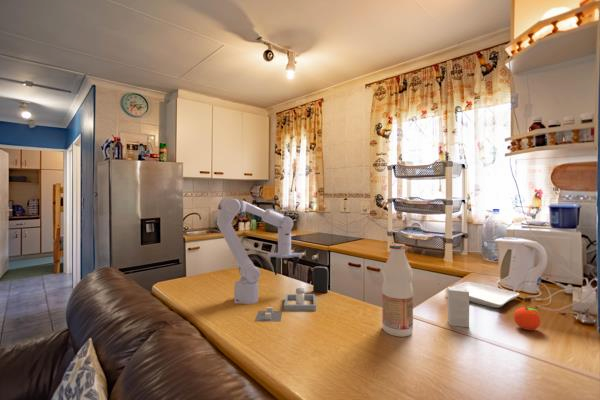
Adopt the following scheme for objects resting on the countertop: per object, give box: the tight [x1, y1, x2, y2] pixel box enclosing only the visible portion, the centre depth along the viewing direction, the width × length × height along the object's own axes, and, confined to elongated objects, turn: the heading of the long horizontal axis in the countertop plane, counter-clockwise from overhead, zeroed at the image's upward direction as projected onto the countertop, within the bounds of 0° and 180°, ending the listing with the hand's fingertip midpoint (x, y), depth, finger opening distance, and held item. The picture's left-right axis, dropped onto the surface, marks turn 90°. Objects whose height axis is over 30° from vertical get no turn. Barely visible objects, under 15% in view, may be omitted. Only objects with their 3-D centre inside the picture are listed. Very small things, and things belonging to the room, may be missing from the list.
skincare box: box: [446, 286, 470, 328], centre depth 99 cm, size 6×4×12 cm
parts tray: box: [283, 293, 317, 312], centre depth 116 cm, size 12×12×3 cm
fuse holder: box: [254, 306, 283, 322], centre depth 105 cm, size 9×9×3 cm
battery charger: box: [312, 265, 329, 294], centre depth 133 cm, size 7×4×11 cm, turn 79°
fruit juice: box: [381, 243, 414, 337], centre depth 95 cm, size 9×9×28 cm
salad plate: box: [445, 281, 520, 309], centre depth 124 cm, size 21×21×3 cm
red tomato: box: [513, 306, 543, 331], centre depth 95 cm, size 8×7×7 cm
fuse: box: [295, 287, 305, 305], centre depth 115 cm, size 3×3×6 cm
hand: (284, 274), depth 128 cm, fingers open, 7 cm apart
